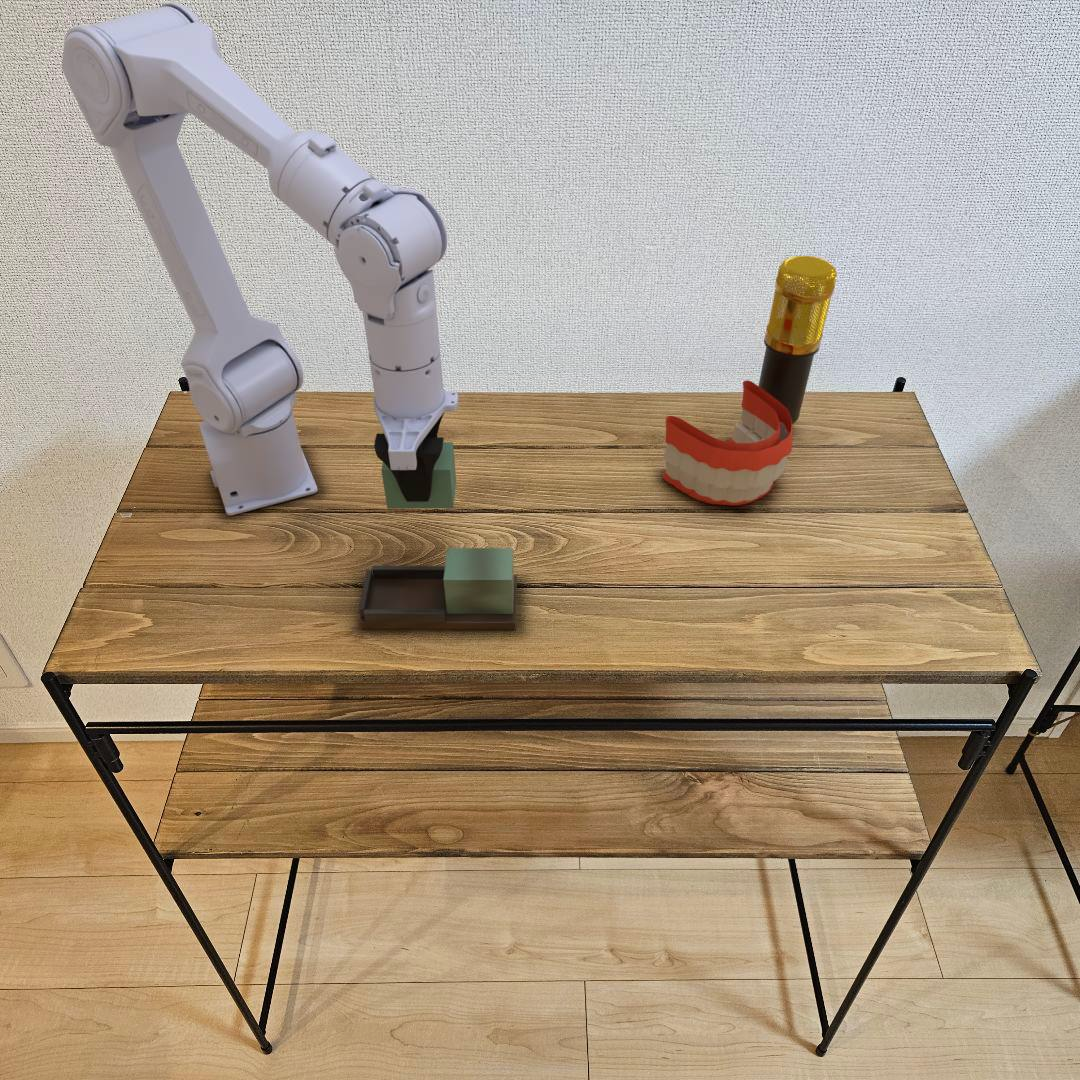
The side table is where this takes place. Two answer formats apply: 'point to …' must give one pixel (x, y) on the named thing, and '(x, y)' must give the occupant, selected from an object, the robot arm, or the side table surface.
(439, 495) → the block
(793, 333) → the black gold cylinder
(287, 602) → the side table surface
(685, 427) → the toy
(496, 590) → the dark brown tray
